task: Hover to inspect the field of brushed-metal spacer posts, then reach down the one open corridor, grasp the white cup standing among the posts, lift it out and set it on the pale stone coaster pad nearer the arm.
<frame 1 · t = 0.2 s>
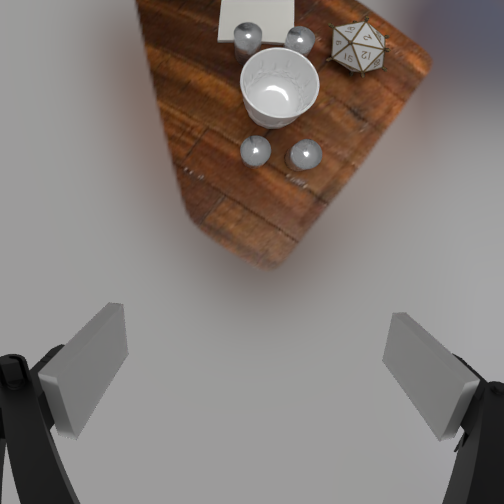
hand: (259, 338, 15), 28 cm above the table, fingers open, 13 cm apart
coaster: (257, 14, 36), on the table
spacer posts: (272, 104, 39), on the table
white cup: (271, 105, 39), on the table
game die: (349, 57, 37), on the table
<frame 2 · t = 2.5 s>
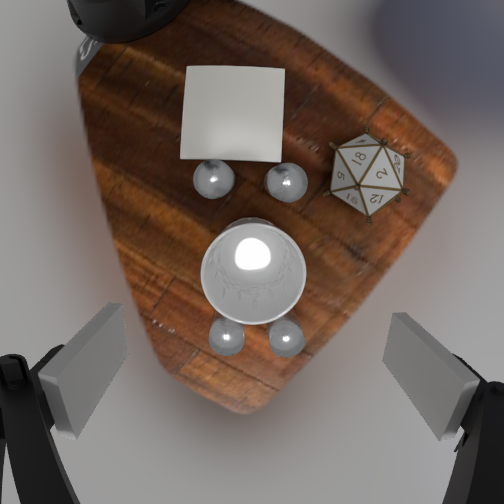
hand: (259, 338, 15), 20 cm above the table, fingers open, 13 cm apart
coaster: (233, 112, 31), on the table
spacer posts: (250, 249, 34), on the table
white cup: (250, 248, 34), on the table
game die: (354, 174, 33), on the table
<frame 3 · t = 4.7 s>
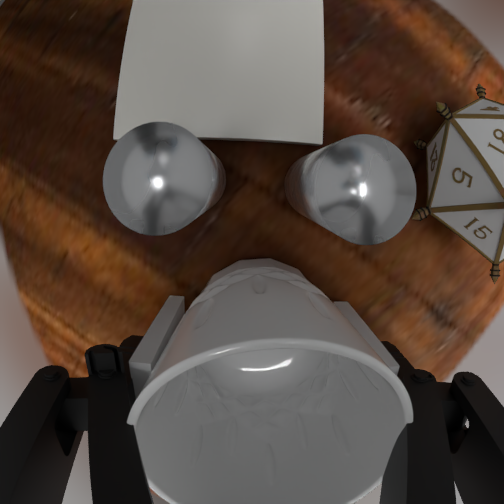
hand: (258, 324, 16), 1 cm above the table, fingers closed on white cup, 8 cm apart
coaster: (222, 47, 14), on the table
spacer posts: (258, 319, 17), on the table
white cup: (258, 317, 17), on the table, touching gripper
game die: (447, 175, 16), on the table
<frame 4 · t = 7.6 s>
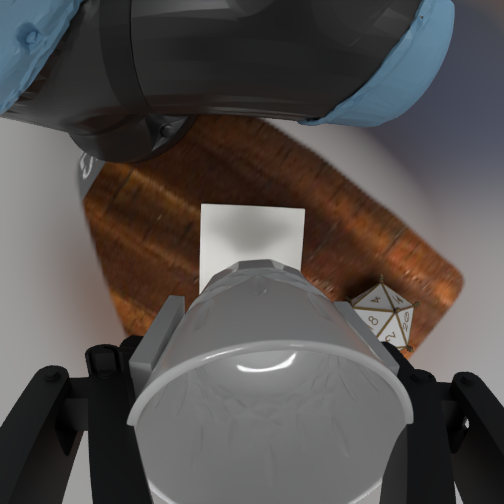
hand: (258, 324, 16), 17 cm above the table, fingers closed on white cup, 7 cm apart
coaster: (250, 255, 33), on the table
white cup: (258, 318, 17), point 16 cm above the table, touching gripper
game die: (364, 308, 35), on the table
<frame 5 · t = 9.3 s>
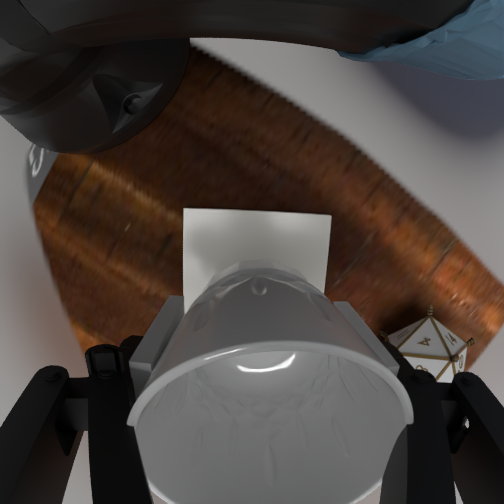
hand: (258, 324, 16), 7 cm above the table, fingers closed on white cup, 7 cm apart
coaster: (254, 280, 23), on the table
white cup: (258, 318, 17), point 7 cm above the table, touching gripper
game die: (400, 343, 25), on the table
when the fingers open (3 cm above the table, at t = 10.7 s): white cup drops 1 cm, resting on coaster.
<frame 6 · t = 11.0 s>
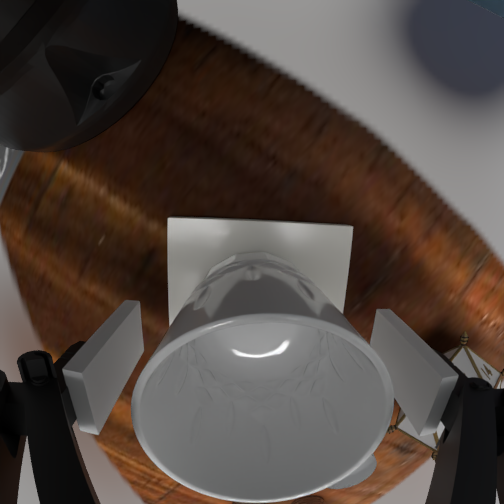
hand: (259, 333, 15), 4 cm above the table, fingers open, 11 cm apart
coaster: (256, 305, 19), on the table
spacer posts: (278, 464, 22), on the table
white cup: (254, 308, 18), point 1 cm above the table, touching coaster
game die: (424, 372, 21), on the table
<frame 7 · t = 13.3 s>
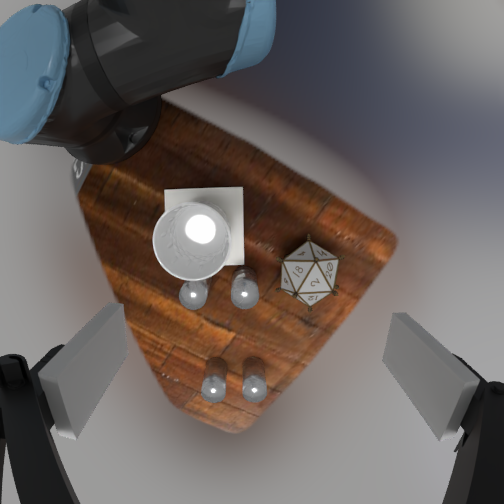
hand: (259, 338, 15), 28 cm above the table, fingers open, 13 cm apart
coaster: (204, 226, 42), on the table
spacer posts: (227, 325, 45), on the table
white cup: (203, 226, 41), point 1 cm above the table, touching coaster
game die: (303, 264, 44), on the table
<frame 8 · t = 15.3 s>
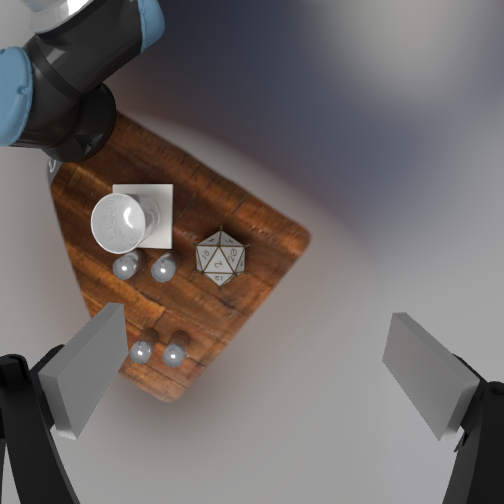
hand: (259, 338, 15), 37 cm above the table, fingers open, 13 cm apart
coaster: (142, 215, 50), on the table
spacer posts: (158, 299, 53), on the table
white cup: (140, 215, 49), point 1 cm above the table, touching coaster
game die: (222, 252, 52), on the table
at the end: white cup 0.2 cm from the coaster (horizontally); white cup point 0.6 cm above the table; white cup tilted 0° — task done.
